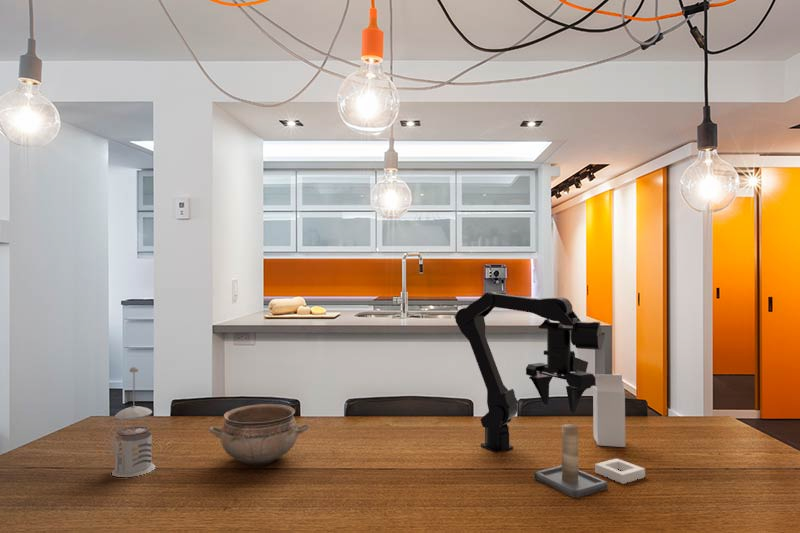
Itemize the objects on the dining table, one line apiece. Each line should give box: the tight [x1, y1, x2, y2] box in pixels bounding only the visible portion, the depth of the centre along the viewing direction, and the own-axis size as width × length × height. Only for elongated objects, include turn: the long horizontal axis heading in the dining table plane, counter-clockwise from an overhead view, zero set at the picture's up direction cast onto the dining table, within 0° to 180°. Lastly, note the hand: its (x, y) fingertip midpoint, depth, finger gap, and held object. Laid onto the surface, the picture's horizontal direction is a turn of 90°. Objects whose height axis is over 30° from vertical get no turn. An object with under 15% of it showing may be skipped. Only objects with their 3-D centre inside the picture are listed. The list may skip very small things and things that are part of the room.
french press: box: [106, 366, 157, 477], centre depth 124 cm, size 10×12×25 cm
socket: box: [594, 457, 646, 485], centre depth 121 cm, size 8×8×2 cm
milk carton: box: [592, 373, 626, 448], centre depth 144 cm, size 7×7×19 cm
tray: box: [534, 464, 609, 499], centre depth 116 cm, size 12×10×2 cm
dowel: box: [561, 423, 579, 483], centre depth 116 cm, size 4×4×12 cm
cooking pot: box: [208, 403, 311, 467], centre depth 131 cm, size 25×19×12 cm
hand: (559, 408), depth 131 cm, fingers open, 9 cm apart
